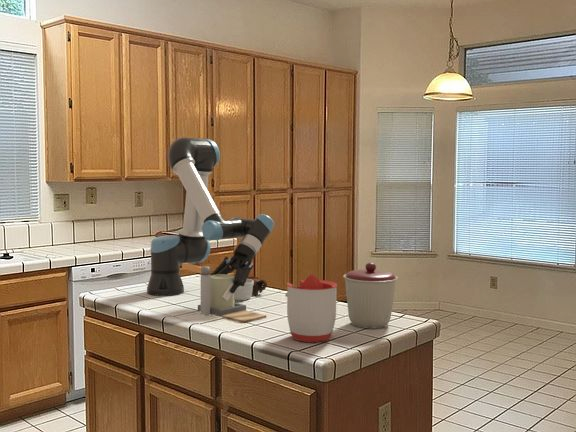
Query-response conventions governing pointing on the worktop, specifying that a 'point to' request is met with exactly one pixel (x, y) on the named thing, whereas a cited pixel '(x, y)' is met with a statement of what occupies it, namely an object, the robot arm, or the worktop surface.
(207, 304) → the socket
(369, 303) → the canister
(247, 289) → the ramekin
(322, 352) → the worktop surface
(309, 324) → the citrus juicer
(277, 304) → the worktop surface
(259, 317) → the plate
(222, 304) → the can
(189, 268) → the orange bar
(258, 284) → the pottery mug
